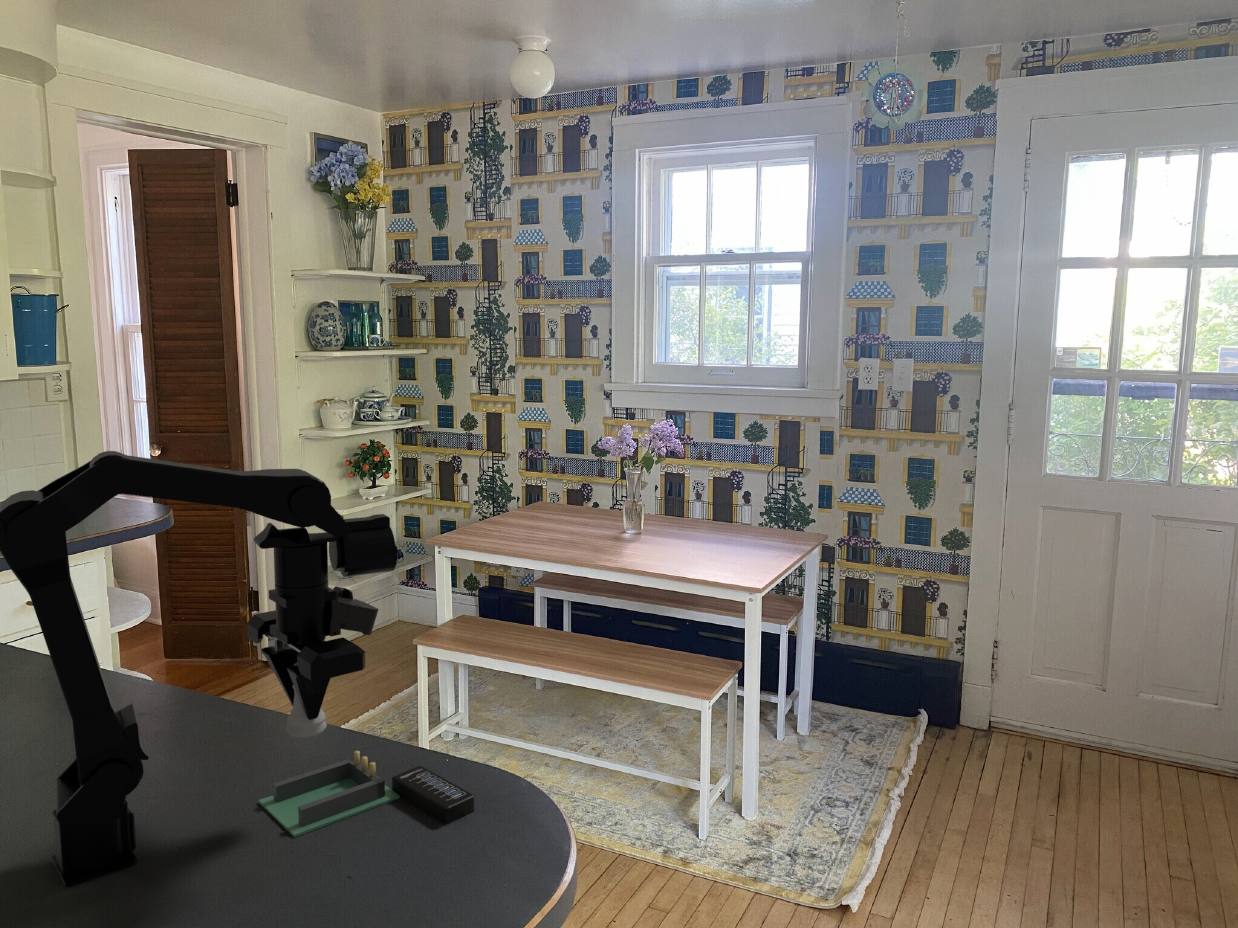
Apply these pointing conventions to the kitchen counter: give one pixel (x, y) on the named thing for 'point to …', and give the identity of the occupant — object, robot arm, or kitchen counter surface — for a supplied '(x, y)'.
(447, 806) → the multiport hub
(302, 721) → the rook chess piece
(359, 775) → the header socket
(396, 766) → the kitchen counter surface
